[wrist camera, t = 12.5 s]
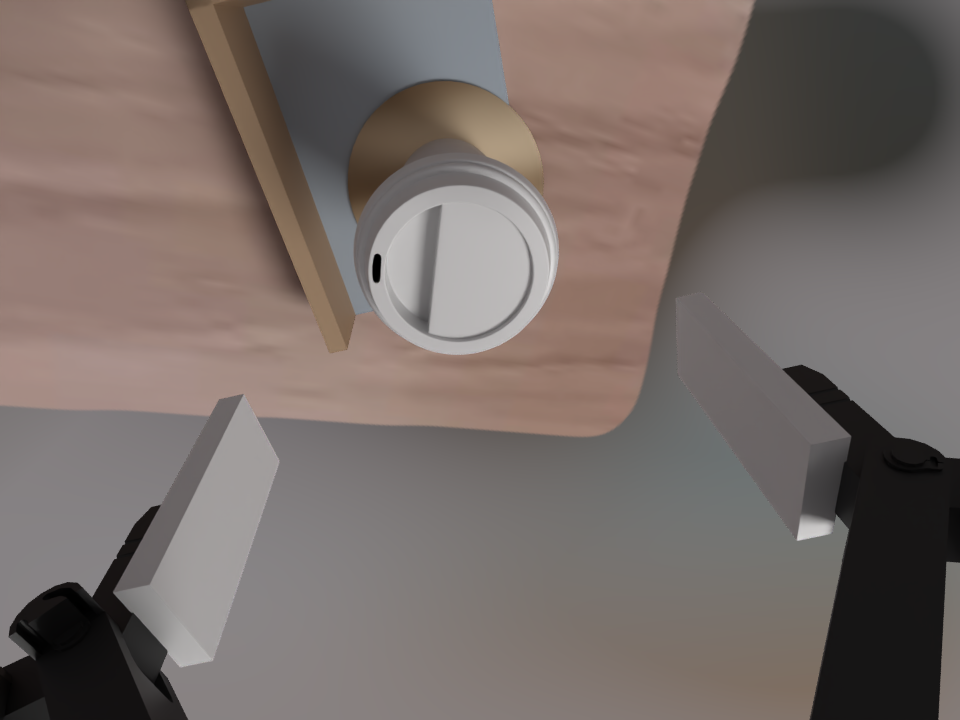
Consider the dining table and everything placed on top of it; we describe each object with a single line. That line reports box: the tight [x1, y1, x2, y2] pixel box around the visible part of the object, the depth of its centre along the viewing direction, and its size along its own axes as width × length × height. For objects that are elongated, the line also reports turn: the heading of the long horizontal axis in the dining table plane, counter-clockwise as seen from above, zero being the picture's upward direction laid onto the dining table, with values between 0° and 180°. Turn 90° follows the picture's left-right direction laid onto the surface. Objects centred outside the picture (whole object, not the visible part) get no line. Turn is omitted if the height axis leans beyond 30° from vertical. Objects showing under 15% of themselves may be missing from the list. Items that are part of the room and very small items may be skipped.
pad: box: [348, 81, 544, 224], centre depth 37 cm, size 13×13×1 cm
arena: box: [185, 0, 509, 353], centre depth 34 cm, size 21×15×6 cm
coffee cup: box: [353, 138, 559, 355], centre depth 31 cm, size 10×10×15 cm
